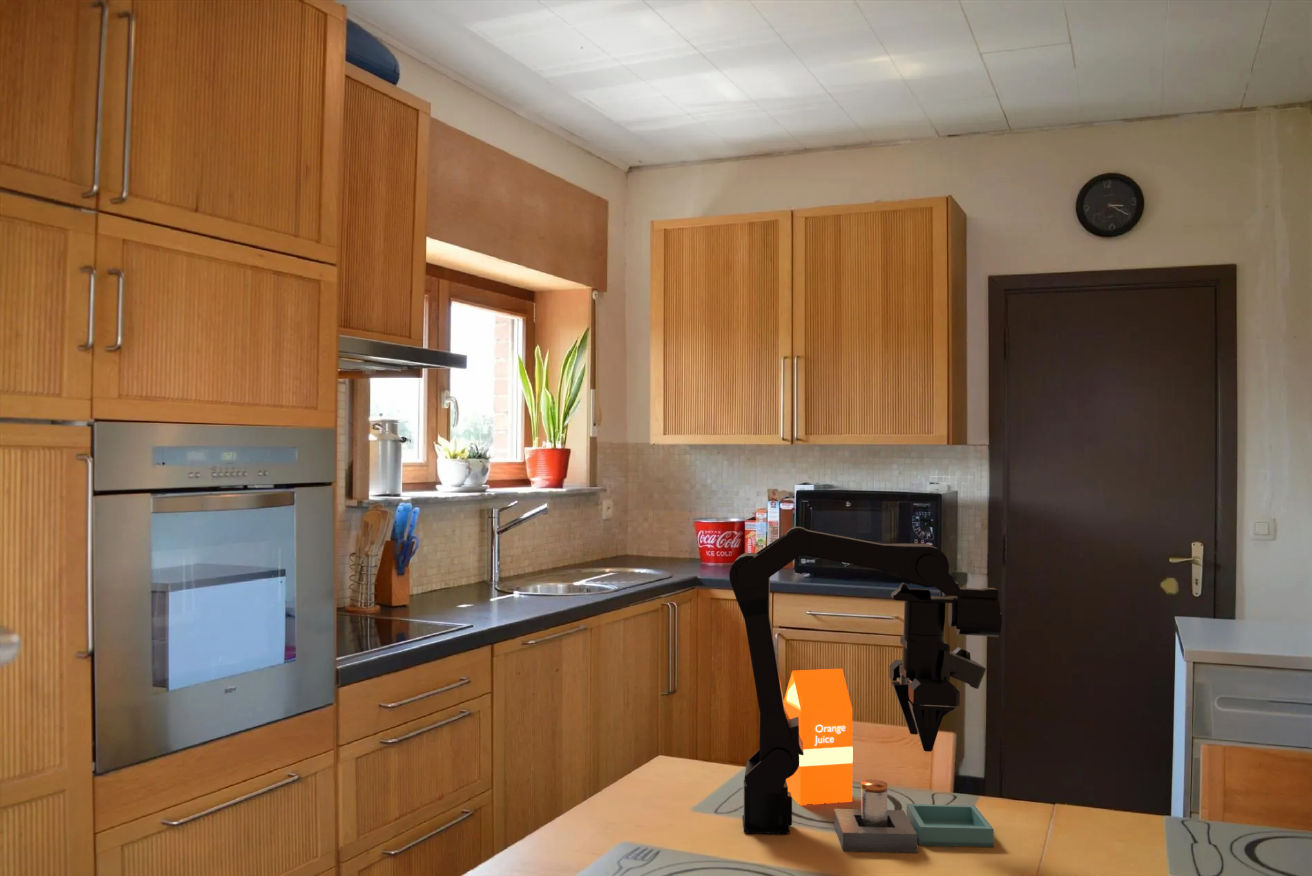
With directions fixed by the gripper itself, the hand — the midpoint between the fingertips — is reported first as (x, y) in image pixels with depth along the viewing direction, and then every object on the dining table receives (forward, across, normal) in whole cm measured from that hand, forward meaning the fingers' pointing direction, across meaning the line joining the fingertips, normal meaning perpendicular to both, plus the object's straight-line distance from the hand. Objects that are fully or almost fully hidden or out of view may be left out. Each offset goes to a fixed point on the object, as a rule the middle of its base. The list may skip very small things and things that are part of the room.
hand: (920, 742), depth 149 cm
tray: (+13, +1, -4) cm, 14 cm away
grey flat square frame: (+13, -2, +6) cm, 15 cm away
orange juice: (+14, +17, +12) cm, 25 cm away
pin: (+13, -2, +6) cm, 15 cm away
